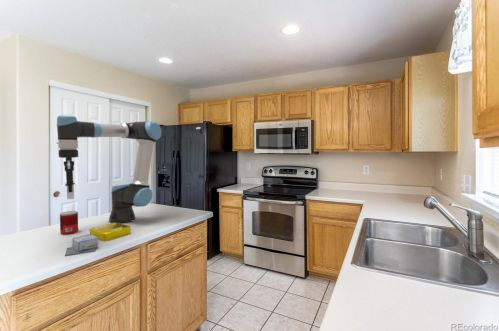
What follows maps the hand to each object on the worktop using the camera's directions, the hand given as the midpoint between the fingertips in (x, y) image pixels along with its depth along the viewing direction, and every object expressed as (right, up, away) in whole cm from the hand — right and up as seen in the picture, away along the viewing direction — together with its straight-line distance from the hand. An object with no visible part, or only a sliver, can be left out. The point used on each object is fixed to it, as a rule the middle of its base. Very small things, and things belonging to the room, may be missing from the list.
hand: (70, 198), depth 120 cm
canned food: (-13, -21, +18) cm, 30 cm away
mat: (+9, -22, -7) cm, 25 cm away
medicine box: (+7, -19, -2) cm, 20 cm away
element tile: (+11, -22, +15) cm, 28 cm away
